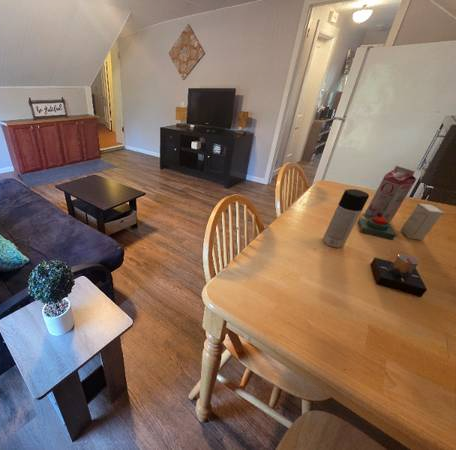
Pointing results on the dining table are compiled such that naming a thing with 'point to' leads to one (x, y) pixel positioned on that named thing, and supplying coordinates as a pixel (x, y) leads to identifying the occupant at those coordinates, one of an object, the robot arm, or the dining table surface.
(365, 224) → the button box
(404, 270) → the hob knob
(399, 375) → the dining table surface
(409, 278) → the hob panel
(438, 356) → the dining table surface
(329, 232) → the spray can
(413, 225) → the cosmetic box
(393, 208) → the juice carton
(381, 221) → the button
